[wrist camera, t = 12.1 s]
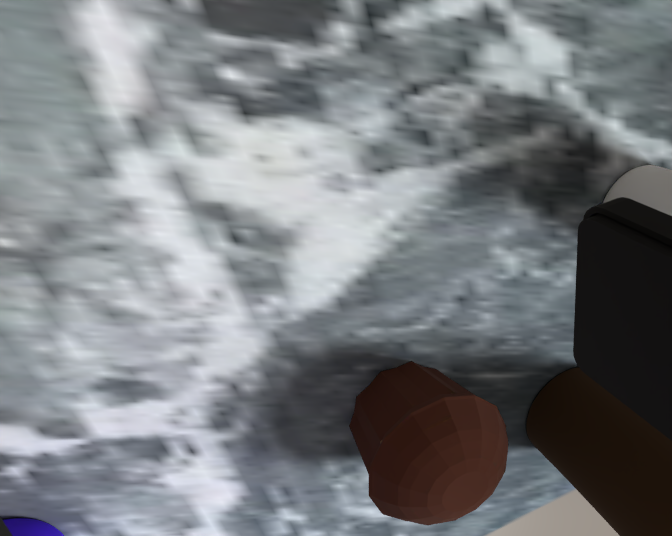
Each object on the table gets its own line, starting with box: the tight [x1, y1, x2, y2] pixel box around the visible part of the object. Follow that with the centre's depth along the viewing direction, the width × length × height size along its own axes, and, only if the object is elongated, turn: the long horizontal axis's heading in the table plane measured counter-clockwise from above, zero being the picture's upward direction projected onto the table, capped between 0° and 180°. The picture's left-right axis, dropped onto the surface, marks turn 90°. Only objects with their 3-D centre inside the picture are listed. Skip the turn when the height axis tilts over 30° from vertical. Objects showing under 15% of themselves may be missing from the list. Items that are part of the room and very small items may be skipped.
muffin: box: [349, 361, 508, 525], centre depth 48 cm, size 12×11×10 cm
